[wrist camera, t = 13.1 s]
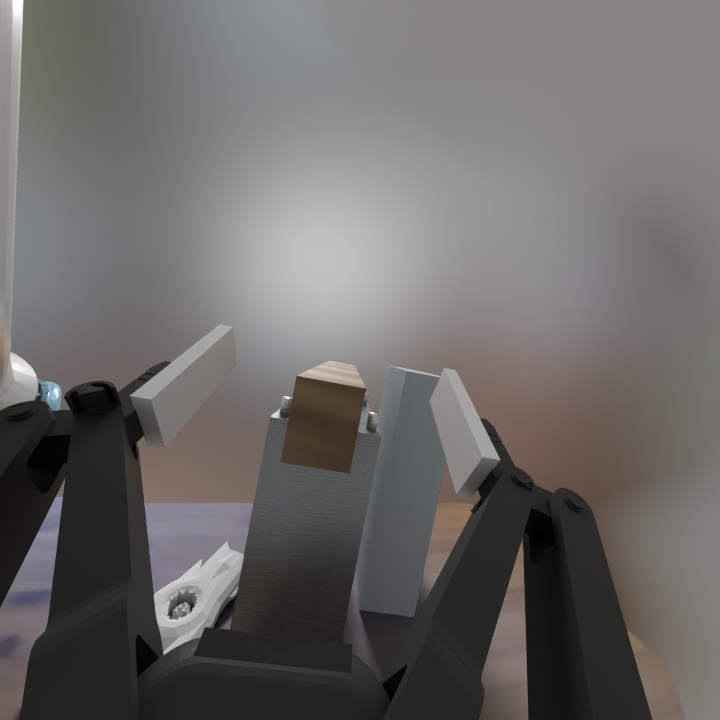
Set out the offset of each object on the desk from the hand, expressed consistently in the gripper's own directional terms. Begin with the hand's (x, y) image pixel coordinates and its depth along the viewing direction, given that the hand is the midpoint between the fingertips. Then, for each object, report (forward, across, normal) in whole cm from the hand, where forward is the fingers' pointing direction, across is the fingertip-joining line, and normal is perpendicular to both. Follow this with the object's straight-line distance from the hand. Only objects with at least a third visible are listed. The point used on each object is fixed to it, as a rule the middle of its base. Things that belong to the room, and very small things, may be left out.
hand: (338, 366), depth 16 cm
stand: (+3, +12, -37) cm, 39 cm away
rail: (+8, 0, -11) cm, 14 cm away
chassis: (-2, 0, -33) cm, 33 cm away
